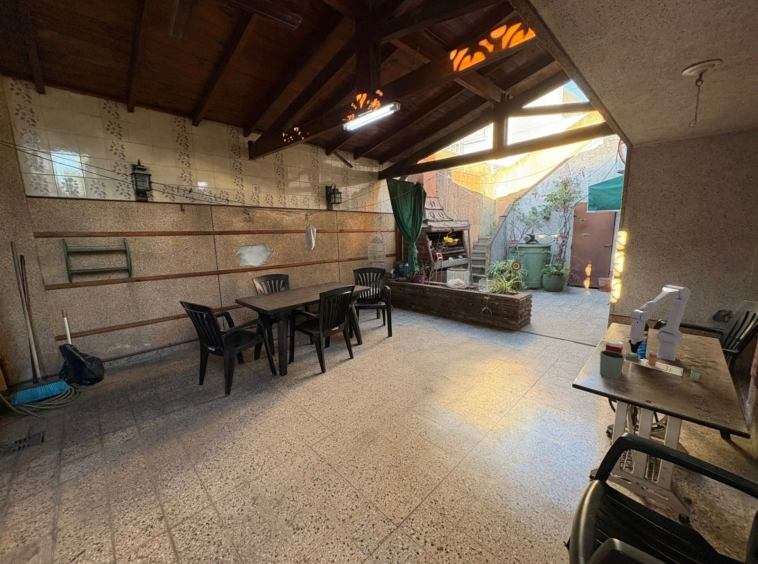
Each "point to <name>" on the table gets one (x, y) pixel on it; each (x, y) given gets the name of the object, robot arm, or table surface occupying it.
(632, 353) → the button
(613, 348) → the coffee cup
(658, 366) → the white flat panel
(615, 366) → the green round bin
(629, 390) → the table surface
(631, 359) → the button housing
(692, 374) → the sage marker
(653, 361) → the brown rounded cylinder
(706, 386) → the table surface
